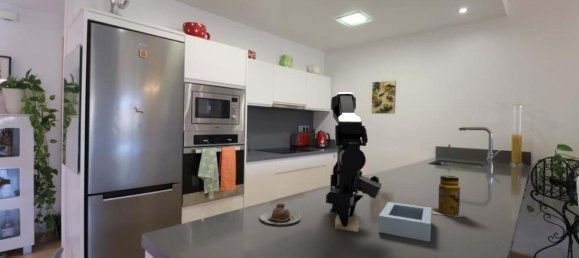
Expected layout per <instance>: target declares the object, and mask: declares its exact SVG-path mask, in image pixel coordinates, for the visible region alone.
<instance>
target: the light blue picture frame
mask: <svg viewBox="0 0 579 258" xmlns="http://www.w3.org/2000/svg"><path fill="white" fill-rule="evenodd" d="M429 207H430V206H429ZM429 207H427V206H419V205H413V204H407V203H405V204H404V203H399V202H393V201H387V203H386V205H385V206H384V208H383V209H382V211H380V213H379V215H378V233H381V234H386V235H392V236H398V237H403V238H408V239H413V240H418V241H419V240H420V241H424V242H429V243H430V242H431V234H432V233H431V231H432V211H431V208H432V207H430V208H429Z"/></svg>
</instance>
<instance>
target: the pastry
mask: <svg viewBox="0 0 579 258" xmlns="http://www.w3.org/2000/svg"><path fill="white" fill-rule="evenodd" d="M268 218H269V219H270V220H271V221H269V220H268ZM291 218H292V219H293V220H292V221H288V220H290V219H291ZM259 219H260V220H261V221H262V222H264V223H265V224H266V225H276V226H289V225H294V224H295V223H297V222H299V221H300V220H301V219H302V217H301V215H300V214H299V213H297V212H293V211H290V210H289V208H288V207H286V204H284V203H277V204H275V207H273V209H272V210H271V211H266V212H263V213H262V214H261V215H260V216H259ZM272 221H274V222H272ZM287 221H288V222H287Z"/></svg>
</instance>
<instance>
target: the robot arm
mask: <svg viewBox="0 0 579 258" xmlns="http://www.w3.org/2000/svg"><path fill="white" fill-rule="evenodd" d="M356 109H357V98H356V97H355V95H354V93H352V92H337V93H336V95H334V96H332V97H331V99H330V111H332V117H333V119H334V120H335V122H336V124H334V139H335V140H334V141H335V142H334V143H335V146H336V148H337V149H336V150H337V151H336V152H337V153H336V158H337V159H336V160H337V161H336V162H335V163H334V165H333V167H332V173H330V177H329V178H330V180H329V192H328V193H327V194H325V203H326V204H329V205H331V208H330V212H335V213H337V215H338V216H339V218H340V221H341V223H342V225H343V226H344V227H347V225H348V220H349V216H350V217H354V215H355V211H356V207H357V204H358V202H359V201H360V200H361V199H362V198H363V197H364V195H368V197H370V198H372V199H376V198H377V197H378V196H379V193H380V191H381V189H382V187H383V186H382V183H381V182H380V177H378V176H376V175H373V176H371V177H370V178H369V177H366V176H364V175H363V171H362V169H363V168H364V167H365V164H366V161H367V157H366V155H365V152H363V151H362V150H361V147H366V146H367V144H368V142H369V140H368V139H369V138H368V133H367V128H366V127H365V124H363V122H362V118H361V117H360V116H358V115H356V113H355V112H356ZM361 192H362V195H361V194H359V193H361ZM363 194H364V195H363Z"/></svg>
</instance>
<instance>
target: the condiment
mask: <svg viewBox="0 0 579 258" xmlns="http://www.w3.org/2000/svg"><path fill="white" fill-rule="evenodd" d="M439 182H440V183H439V184H438V202H437V203H438V207H437V208H436V207H430V206H429V208H431V214H433V215H443V216H449V217H458V218H464V216H463V215H462V214H461V213H460V208H461V207H460V206H461V205H460V204H461V203H460V201H461V197H460V195H461V187H460V185H459V184H460V182H459V177H457V176H454V175H441V176H440V180H439Z"/></svg>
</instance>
